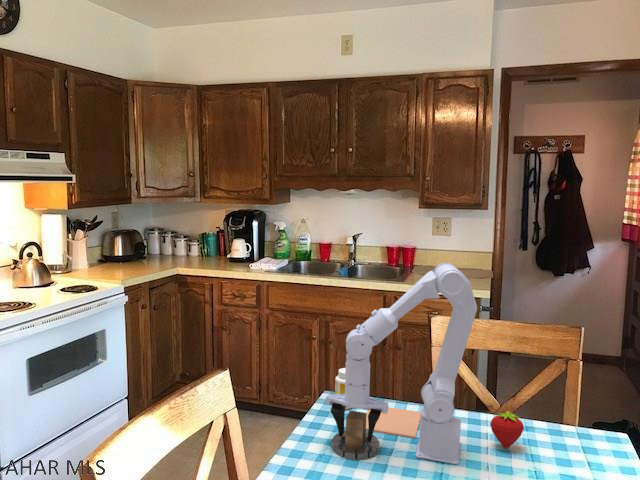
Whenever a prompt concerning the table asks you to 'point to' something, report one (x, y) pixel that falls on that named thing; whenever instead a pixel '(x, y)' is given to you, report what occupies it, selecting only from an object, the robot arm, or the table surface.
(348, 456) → the holder ring
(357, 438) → the link block
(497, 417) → the strawberry
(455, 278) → the robot arm
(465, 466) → the table surface
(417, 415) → the terracotta tile
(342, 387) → the supplement bottle
